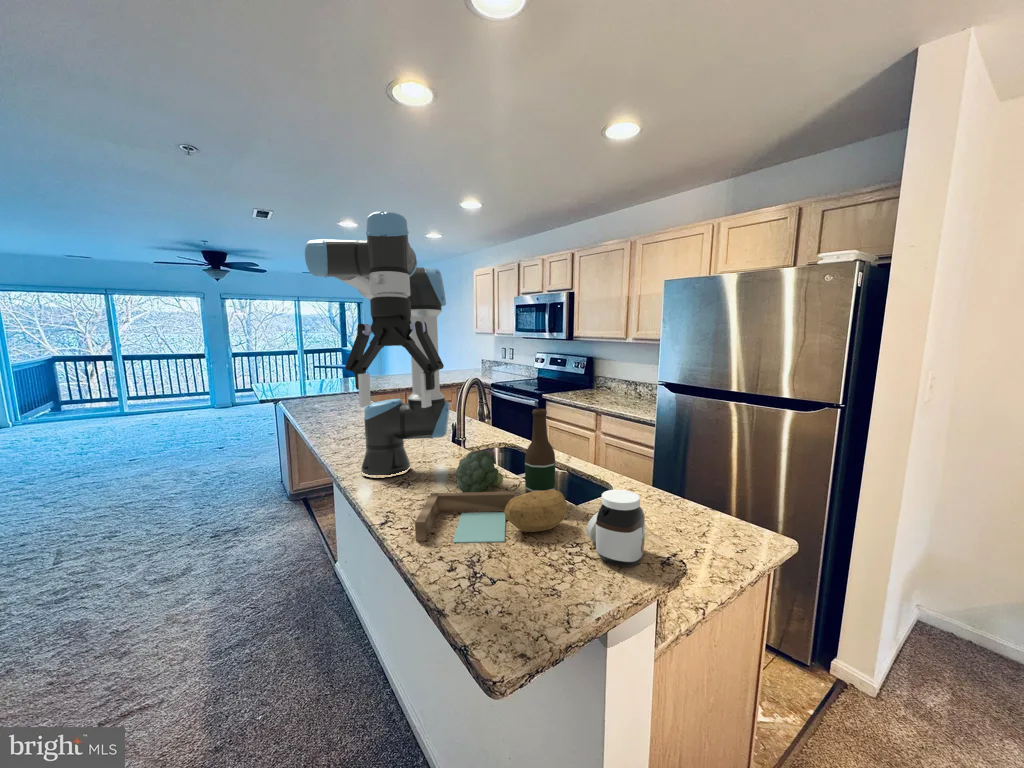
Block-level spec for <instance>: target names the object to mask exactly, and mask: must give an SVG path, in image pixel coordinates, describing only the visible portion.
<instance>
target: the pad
mask: <svg viewBox="0 0 1024 768" xmlns="http://www.w3.org/2000/svg"><path fill="white" fill-rule="evenodd" d="M505 535H506V516H505V513H504V511H480V512H461V514H460V515H459V519H458V524H457V526H456V529H455V532H454V536H453V539H452V543H453V544H466V543H467V544H468V543H473V544H474V543H504V542H505V538H506V537H505Z"/></svg>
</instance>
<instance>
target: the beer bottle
mask: <svg viewBox="0 0 1024 768" xmlns="http://www.w3.org/2000/svg"><path fill="white" fill-rule="evenodd" d="M531 415H532V434H531V435H532V437H531V442H530V444H529V446H527V449H526V452H525V457H524V485H525V486H524V487H525V488H524V489H525V493H529V492H532V491H544V490H556V488H557V487H556V486H557V485H556V455H555V454H556V453H555V451H554V448H553V446H552V444H551V443H550V441H549V437H548V428H547V416H546V415H548V412H547V409H545V408H534V409H533V410H532V413H531ZM556 491H557V490H556ZM525 493H524V494H525Z"/></svg>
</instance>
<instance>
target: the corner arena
mask: <svg viewBox="0 0 1024 768" xmlns="http://www.w3.org/2000/svg"><path fill="white" fill-rule="evenodd" d="M515 495H516V493H515V491H485V492H464V493H463V492H431V493H430V494H429V496H428V498H427V499H426V501H425V503H424V505H423V507H422V509H421V510H420V512H419V513H418V516H417V518H416V519H415V521H414V528H415V530H414V532H415V541H417V542H422V541H423V542H424V541H427V538H428V536H429V534H430V531H431V529H432V527H433V526H434V522H435V520H436V518H437V516H438V514H439V513H453V512H454V513H459V512H461V513H468V512H504V511H505V507H506V505H507V504H508V502H509V501H510V500H511V499H512V498H514V497H516V496H515Z"/></svg>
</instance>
